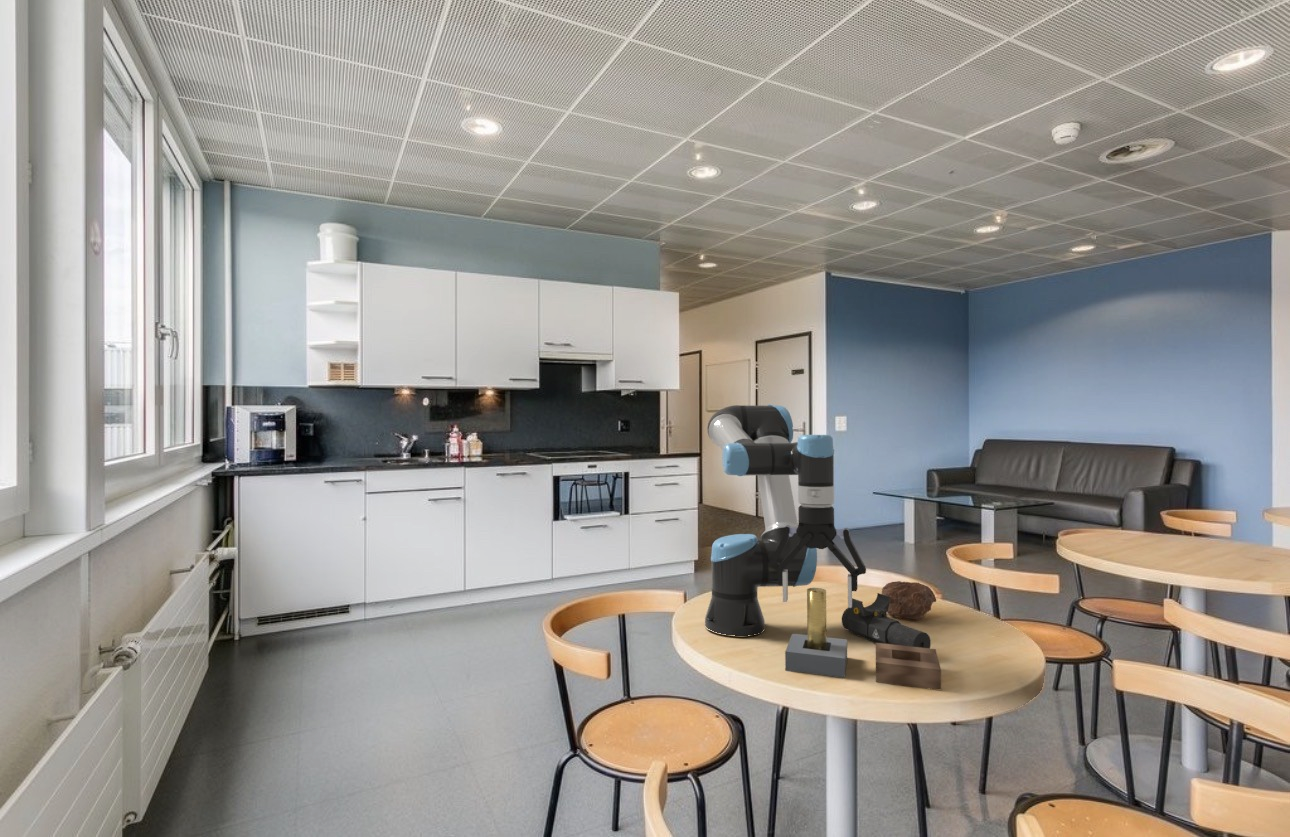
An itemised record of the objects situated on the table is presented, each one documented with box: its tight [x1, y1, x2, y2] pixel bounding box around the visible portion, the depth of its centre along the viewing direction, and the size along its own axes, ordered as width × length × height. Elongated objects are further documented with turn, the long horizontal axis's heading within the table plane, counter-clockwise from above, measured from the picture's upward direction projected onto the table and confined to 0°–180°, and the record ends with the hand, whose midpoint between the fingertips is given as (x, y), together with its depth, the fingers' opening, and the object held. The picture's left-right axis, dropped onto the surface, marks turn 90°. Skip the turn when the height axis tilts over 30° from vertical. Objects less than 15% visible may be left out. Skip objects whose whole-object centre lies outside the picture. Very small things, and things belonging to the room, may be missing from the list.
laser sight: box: [841, 592, 932, 649], centre depth 150 cm, size 10×22×10 cm, turn 27°
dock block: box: [875, 643, 942, 690], centre depth 131 cm, size 12×12×4 cm
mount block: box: [784, 633, 848, 679], centre depth 137 cm, size 12×12×4 cm
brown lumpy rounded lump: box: [881, 580, 937, 621], centre depth 170 cm, size 13×11×10 cm
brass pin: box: [806, 587, 827, 651], centre depth 137 cm, size 4×4×16 cm
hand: (817, 603), depth 137 cm, fingers open, 13 cm apart
